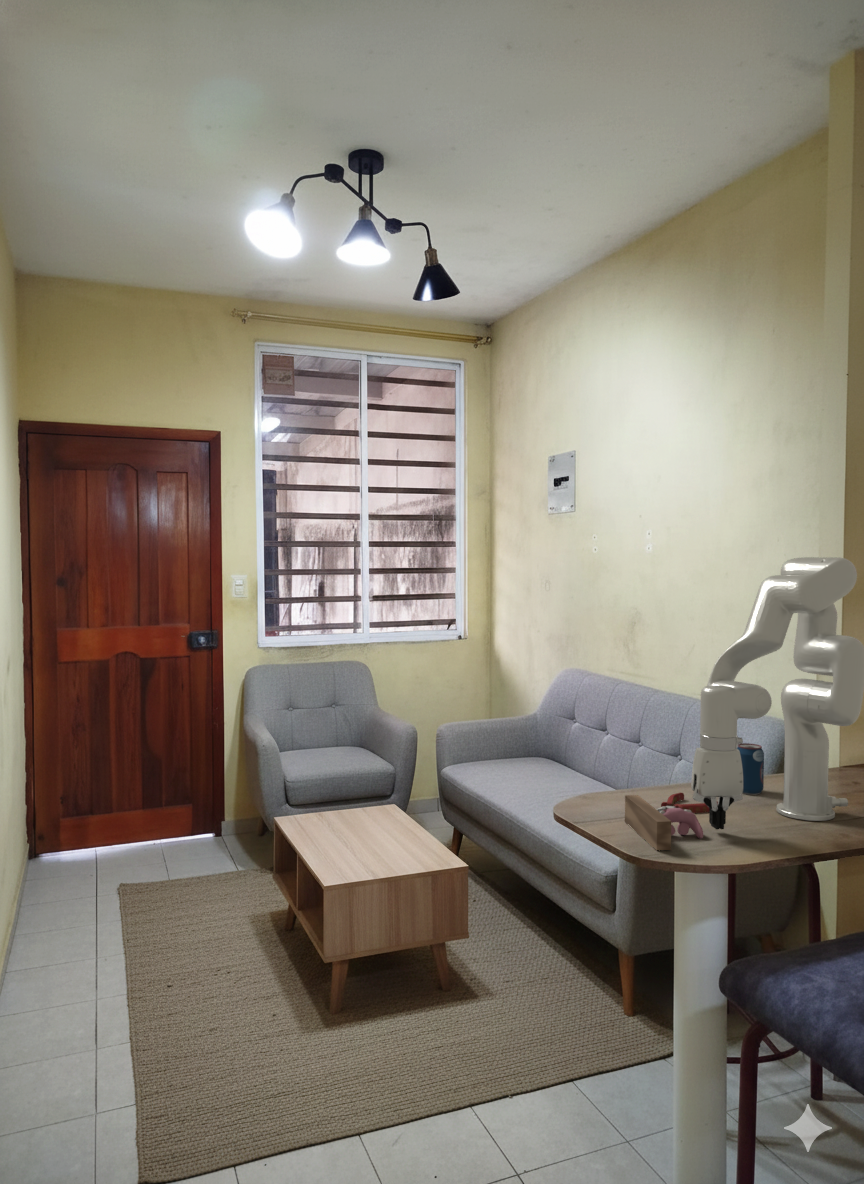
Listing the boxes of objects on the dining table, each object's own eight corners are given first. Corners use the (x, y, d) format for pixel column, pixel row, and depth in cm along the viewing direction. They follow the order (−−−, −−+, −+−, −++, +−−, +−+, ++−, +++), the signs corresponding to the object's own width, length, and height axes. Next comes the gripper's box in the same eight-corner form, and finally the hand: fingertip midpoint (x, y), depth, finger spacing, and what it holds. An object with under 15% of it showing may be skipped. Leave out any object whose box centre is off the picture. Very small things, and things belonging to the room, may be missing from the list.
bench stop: (637, 821, 193) (638, 795, 193) (670, 850, 173) (671, 821, 173) (624, 821, 193) (625, 795, 193) (656, 851, 173) (657, 821, 173)
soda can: (768, 795, 217) (769, 748, 216) (741, 795, 216) (742, 748, 216) (756, 788, 224) (756, 742, 223) (730, 788, 223) (731, 742, 223)
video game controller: (696, 841, 185) (690, 808, 188) (706, 837, 181) (699, 804, 184) (654, 843, 183) (648, 810, 186) (663, 840, 179) (656, 806, 182)
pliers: (631, 815, 200) (631, 804, 200) (679, 800, 213) (679, 790, 213) (674, 827, 191) (674, 815, 191) (721, 811, 204) (721, 800, 204)
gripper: (743, 739, 189) (742, 821, 189) (678, 740, 187) (677, 823, 188) (759, 746, 181) (758, 832, 182) (691, 747, 180) (690, 834, 181)
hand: (717, 827), depth 185 cm, fingers closed
